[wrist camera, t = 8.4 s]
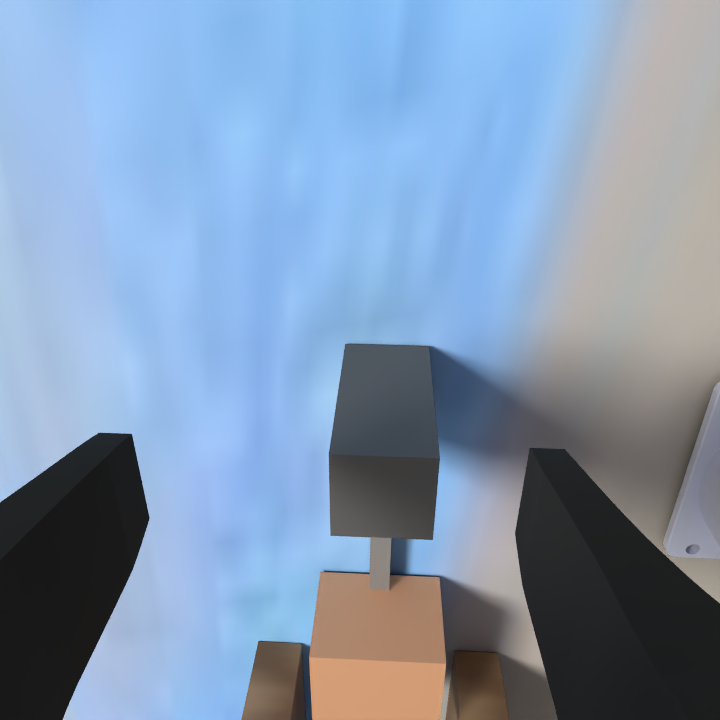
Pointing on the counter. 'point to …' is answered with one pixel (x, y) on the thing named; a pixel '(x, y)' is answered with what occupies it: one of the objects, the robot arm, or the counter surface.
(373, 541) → the grey and tan dumbbell
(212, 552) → the counter surface
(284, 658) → the brown wooden u-shaped piece
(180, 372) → the counter surface
